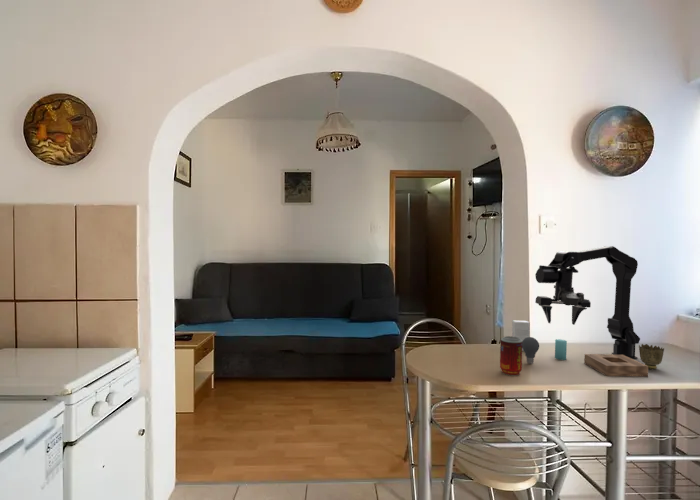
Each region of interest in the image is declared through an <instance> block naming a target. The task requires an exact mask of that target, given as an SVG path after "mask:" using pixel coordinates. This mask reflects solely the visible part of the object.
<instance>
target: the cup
mask: <svg viewBox="0 0 700 500" xmlns="http://www.w3.org/2000/svg"><path fill="white" fill-rule="evenodd" d="M638 348H639V349H638V350H639V351H638V352H639V357H640V360H641V363H642V364H644V365H647V366H648V370H652V369H655V370H656V369H657V368H658V366H659V365H661V364H662V361H663V358H664V352H665V347H660V346H659V345H658V346H657V345H654V346H653V344H651V345H649V344H647V343H645V344H643V343H642V344H641V345H640V344H639V345H638Z"/></svg>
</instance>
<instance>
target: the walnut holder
mask: <svg viewBox="0 0 700 500" xmlns="http://www.w3.org/2000/svg"><path fill="white" fill-rule="evenodd" d="M584 364H585V365H586V366H588V367H590V368H592V369H594V370H596V371H597V372H599V373H601V374H602V375H604V376H606V377H647V378H648V377H649V369H648V366H647V365H645V363H643V362H641V361H640V362H639V361H638V360H636V359H632V358H629V357H627V356H624V355H613V354H612V353H611V354H608V353H606V354H604V353H603V354H602V353H597V354H596V353H585V354H584Z"/></svg>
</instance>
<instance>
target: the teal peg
mask: <svg viewBox="0 0 700 500" xmlns="http://www.w3.org/2000/svg"><path fill="white" fill-rule="evenodd" d="M554 341H555V343H554V359H556V360H559V361H566V360H567V350H568V349H567V346H568V345H567V342H568V340H566V339H561V338H560V339H559V338H558V339H555V340H554Z"/></svg>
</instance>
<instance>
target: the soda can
mask: <svg viewBox="0 0 700 500" xmlns="http://www.w3.org/2000/svg"><path fill="white" fill-rule="evenodd" d="M499 340H500V349H499V350H500V352H499V369H500V370H501V373H502V374H503V373H504V375H505V374H506V375H505V376H510V375H511V376H512V377H516V376H520V373H521V371H522V370H523V369H522V367H523V351H522V340H521V339H519V338H517V337H512V335H510V336H509V335H508V336H507V335H505V336H503V337H502V338H500V339H499Z"/></svg>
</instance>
